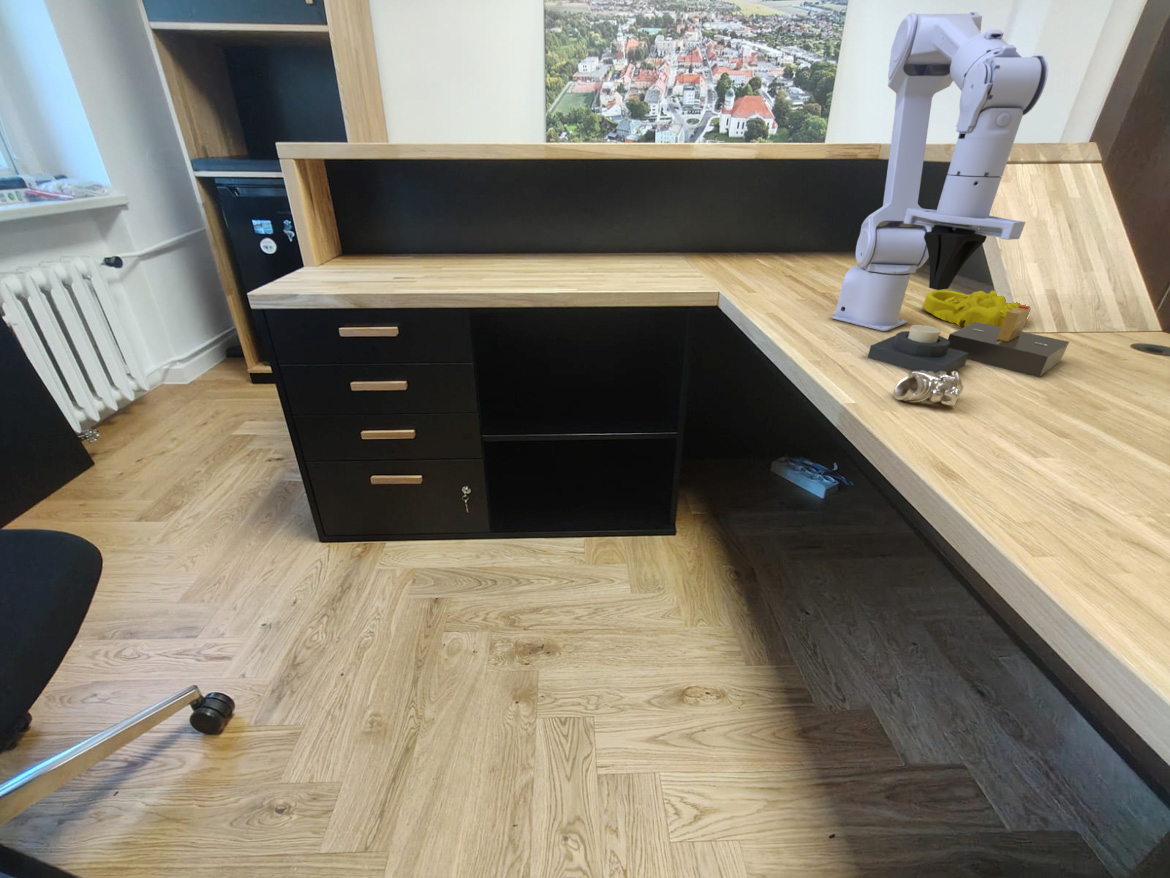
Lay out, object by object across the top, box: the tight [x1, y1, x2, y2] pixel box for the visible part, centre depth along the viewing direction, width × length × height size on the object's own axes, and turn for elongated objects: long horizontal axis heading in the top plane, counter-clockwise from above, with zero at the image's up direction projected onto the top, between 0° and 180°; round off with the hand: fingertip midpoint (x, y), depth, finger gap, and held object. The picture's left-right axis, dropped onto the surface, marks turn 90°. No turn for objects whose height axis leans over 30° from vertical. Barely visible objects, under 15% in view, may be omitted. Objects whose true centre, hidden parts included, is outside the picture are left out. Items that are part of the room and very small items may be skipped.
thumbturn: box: [997, 304, 1032, 342], centre depth 78 cm, size 5×1×4 cm, turn 129°
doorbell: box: [867, 330, 969, 376], centre depth 78 cm, size 10×8×4 cm
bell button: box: [908, 324, 941, 343], centre depth 77 cm, size 4×4×2 cm
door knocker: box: [922, 289, 1030, 328], centre depth 99 cm, size 16×16×4 cm
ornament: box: [892, 370, 964, 406], centre depth 66 cm, size 8×7×4 cm
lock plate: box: [947, 322, 1070, 378], centre depth 80 cm, size 12×10×3 cm
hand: (938, 288), depth 74 cm, fingers closed
